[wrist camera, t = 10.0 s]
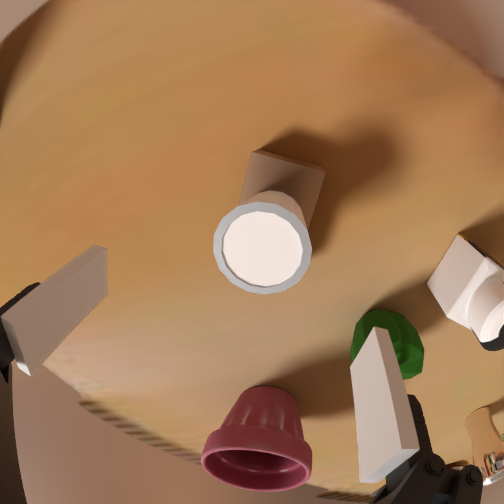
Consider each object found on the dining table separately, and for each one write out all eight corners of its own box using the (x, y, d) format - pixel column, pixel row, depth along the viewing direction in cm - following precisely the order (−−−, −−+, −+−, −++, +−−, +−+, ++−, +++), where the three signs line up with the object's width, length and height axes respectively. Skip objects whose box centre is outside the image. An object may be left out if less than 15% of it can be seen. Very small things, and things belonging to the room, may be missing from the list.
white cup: (289, 169, 25) (284, 184, 19) (323, 239, 27) (327, 274, 20) (221, 204, 27) (194, 228, 21) (256, 267, 29) (241, 307, 23)
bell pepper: (412, 342, 34) (431, 398, 25) (352, 357, 36) (359, 417, 27) (408, 289, 31) (435, 343, 22) (341, 306, 34) (349, 366, 25)
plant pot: (313, 371, 38) (309, 450, 27) (316, 427, 43) (312, 493, 32) (212, 372, 41) (185, 442, 30) (233, 426, 46) (215, 487, 35)
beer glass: (464, 413, 38) (484, 478, 25) (495, 400, 36) (519, 460, 23) (459, 431, 40) (475, 491, 27) (488, 419, 38) (507, 476, 25)
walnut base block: (234, 248, 33) (225, 264, 30) (258, 149, 29) (251, 152, 25) (292, 265, 33) (290, 283, 29) (323, 167, 28) (325, 172, 25)
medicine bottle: (493, 257, 28) (545, 309, 17) (462, 304, 31) (502, 366, 20) (457, 231, 28) (513, 281, 17) (425, 283, 31) (463, 349, 20)
